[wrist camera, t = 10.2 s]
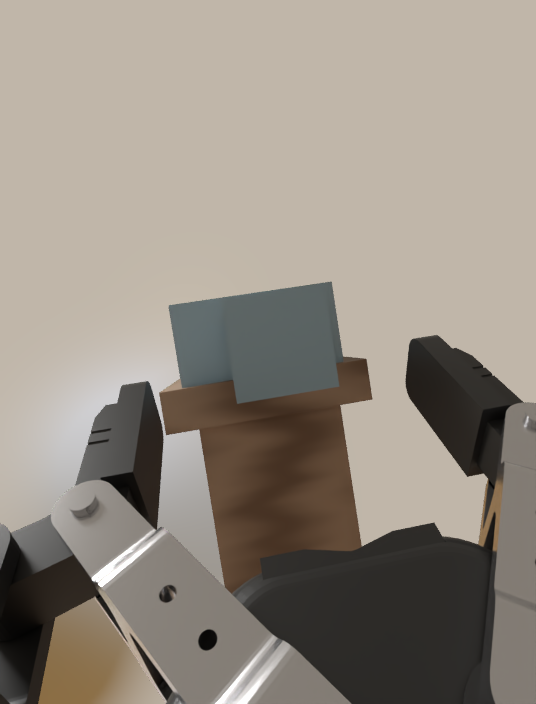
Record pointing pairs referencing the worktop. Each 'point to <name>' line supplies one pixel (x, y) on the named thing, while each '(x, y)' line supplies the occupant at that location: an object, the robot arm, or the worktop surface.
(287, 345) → the blue-grey stepped block
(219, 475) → the walnut stand
